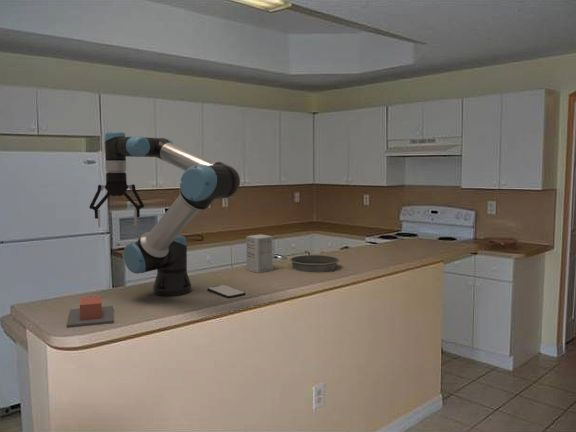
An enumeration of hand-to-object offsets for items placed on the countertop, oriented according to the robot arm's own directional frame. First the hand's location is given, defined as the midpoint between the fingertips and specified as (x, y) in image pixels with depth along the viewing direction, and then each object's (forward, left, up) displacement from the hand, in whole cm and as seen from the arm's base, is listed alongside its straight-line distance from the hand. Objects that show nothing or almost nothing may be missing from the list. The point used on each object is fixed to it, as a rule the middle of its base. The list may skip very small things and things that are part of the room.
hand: (117, 226), depth 199 cm
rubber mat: (+10, +30, -27) cm, 42 cm away
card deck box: (+10, +31, -26) cm, 41 cm away
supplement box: (-65, -24, -27) cm, 74 cm away
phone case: (-40, +13, -27) cm, 50 cm away
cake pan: (-93, -22, -27) cm, 99 cm away
